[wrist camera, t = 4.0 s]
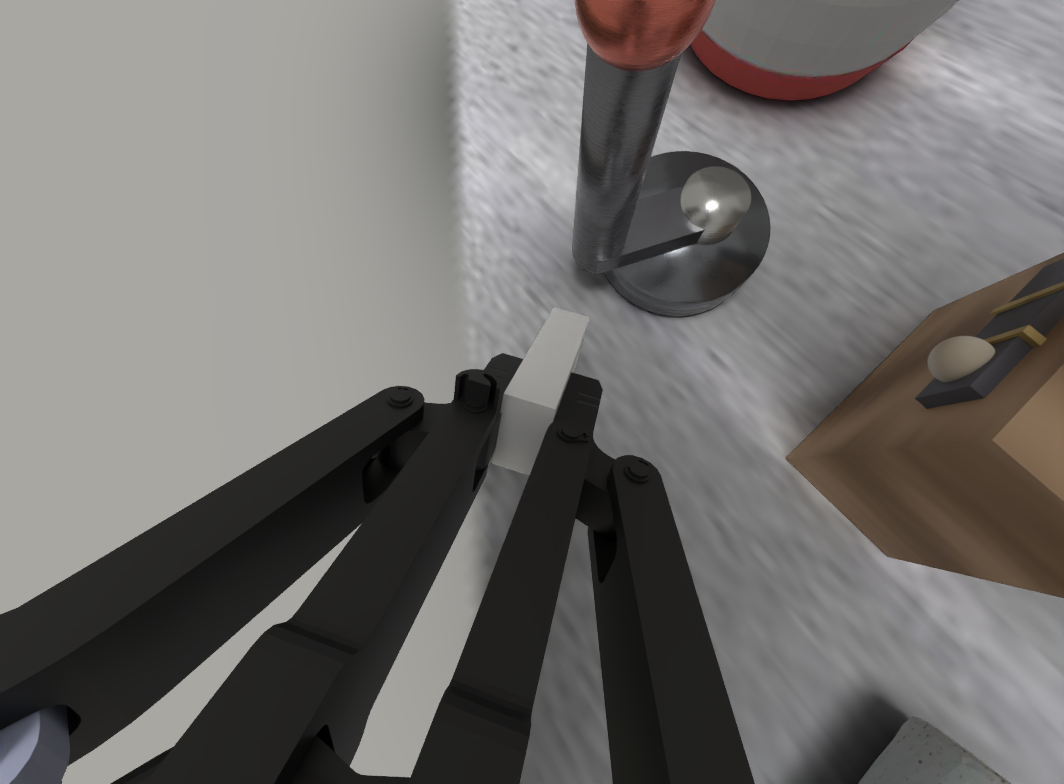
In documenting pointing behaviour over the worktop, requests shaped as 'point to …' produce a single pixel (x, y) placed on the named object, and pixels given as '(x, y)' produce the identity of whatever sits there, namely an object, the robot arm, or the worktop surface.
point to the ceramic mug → (927, 760)
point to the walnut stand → (960, 438)
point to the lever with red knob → (655, 170)
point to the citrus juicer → (807, 42)
